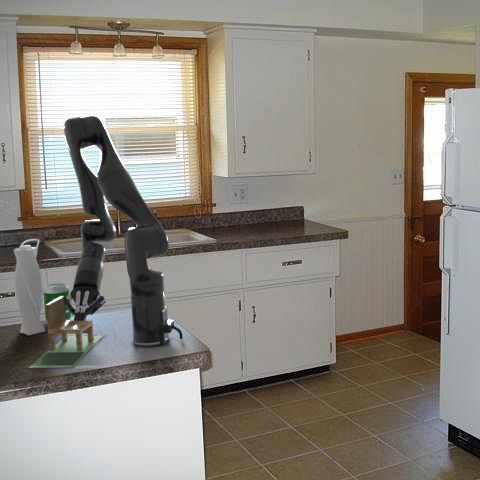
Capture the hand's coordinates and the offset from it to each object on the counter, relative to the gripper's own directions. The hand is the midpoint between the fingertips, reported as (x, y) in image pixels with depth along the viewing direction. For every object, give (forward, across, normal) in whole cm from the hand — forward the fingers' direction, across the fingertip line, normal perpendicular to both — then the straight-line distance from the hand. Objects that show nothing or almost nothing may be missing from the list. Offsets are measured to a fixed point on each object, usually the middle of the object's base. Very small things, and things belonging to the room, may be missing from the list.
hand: (78, 326), depth 208 cm
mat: (+10, 0, -4) cm, 10 cm away
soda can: (-11, -13, +17) cm, 24 cm away
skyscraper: (-4, -17, +10) cm, 20 cm away
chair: (+6, 0, -1) cm, 7 cm away
